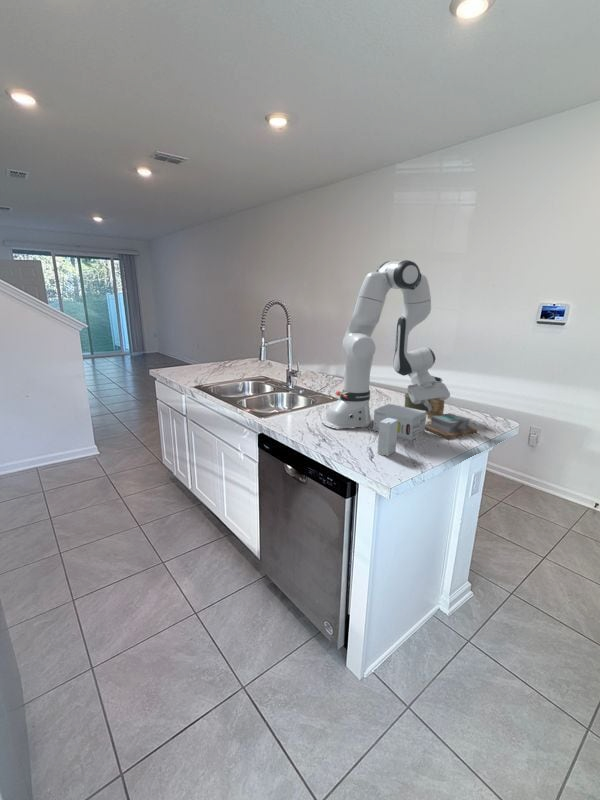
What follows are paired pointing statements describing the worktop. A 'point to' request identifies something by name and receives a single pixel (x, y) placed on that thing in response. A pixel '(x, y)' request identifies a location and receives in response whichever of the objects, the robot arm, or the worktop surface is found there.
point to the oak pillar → (436, 407)
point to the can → (415, 406)
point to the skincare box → (387, 436)
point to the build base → (449, 435)
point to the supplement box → (402, 420)
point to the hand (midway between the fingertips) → (437, 409)
